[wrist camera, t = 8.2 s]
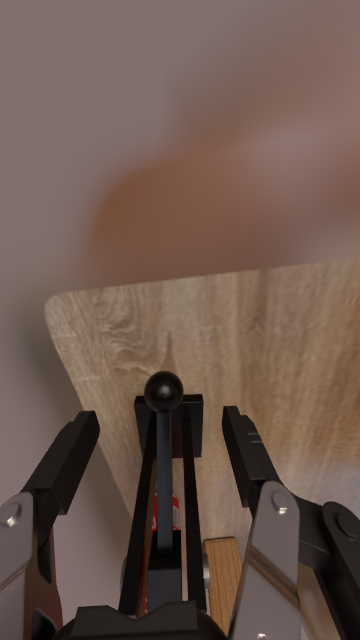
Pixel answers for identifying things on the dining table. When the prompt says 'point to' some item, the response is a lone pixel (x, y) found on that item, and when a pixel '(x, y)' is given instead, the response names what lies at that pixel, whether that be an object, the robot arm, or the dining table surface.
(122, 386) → the dining table surface
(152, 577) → the lever
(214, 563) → the decorative item
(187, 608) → the robot arm
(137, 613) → the switch bracket
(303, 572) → the teapot
